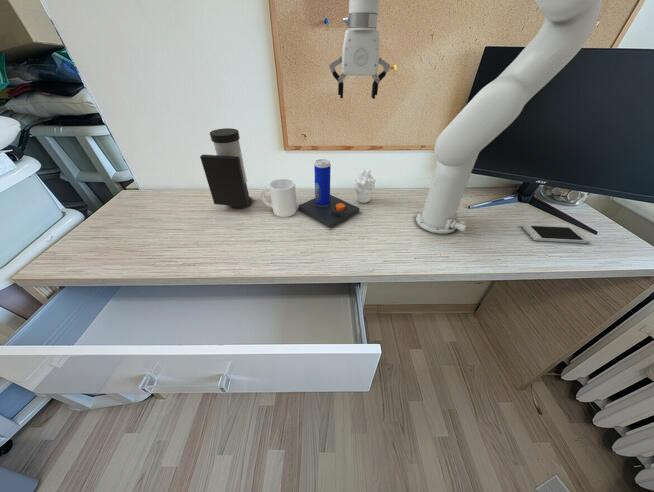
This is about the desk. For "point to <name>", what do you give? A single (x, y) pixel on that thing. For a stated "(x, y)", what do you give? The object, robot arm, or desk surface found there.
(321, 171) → the beverage can
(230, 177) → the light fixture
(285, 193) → the mug
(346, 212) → the scale
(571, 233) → the smartphone
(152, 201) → the desk surface
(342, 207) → the tare button
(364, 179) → the figurine
